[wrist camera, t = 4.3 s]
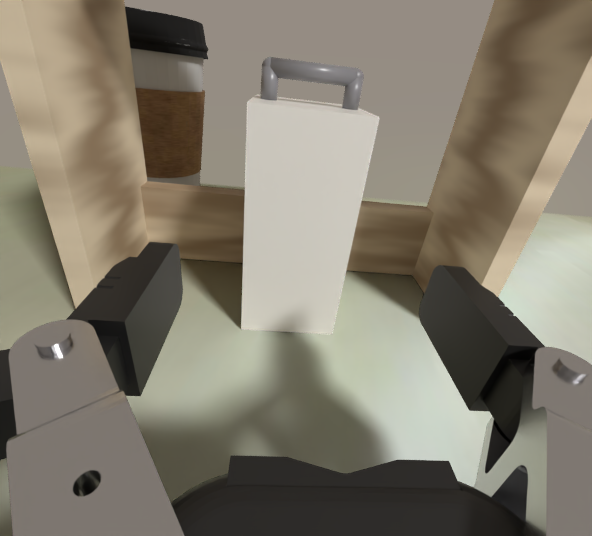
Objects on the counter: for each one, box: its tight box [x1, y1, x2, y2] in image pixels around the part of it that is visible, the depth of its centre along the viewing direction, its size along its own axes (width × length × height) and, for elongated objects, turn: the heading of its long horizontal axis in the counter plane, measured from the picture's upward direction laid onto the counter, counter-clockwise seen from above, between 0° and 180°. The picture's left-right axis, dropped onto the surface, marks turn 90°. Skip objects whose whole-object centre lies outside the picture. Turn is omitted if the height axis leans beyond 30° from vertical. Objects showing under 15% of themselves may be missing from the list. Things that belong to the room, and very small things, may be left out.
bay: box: [0, 0, 592, 308], centre depth 16 cm, size 8×22×19 cm, turn 92°
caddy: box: [241, 57, 380, 334], centre depth 17 cm, size 5×5×12 cm
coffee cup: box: [125, 7, 208, 186], centre depth 27 cm, size 8×8×15 cm
